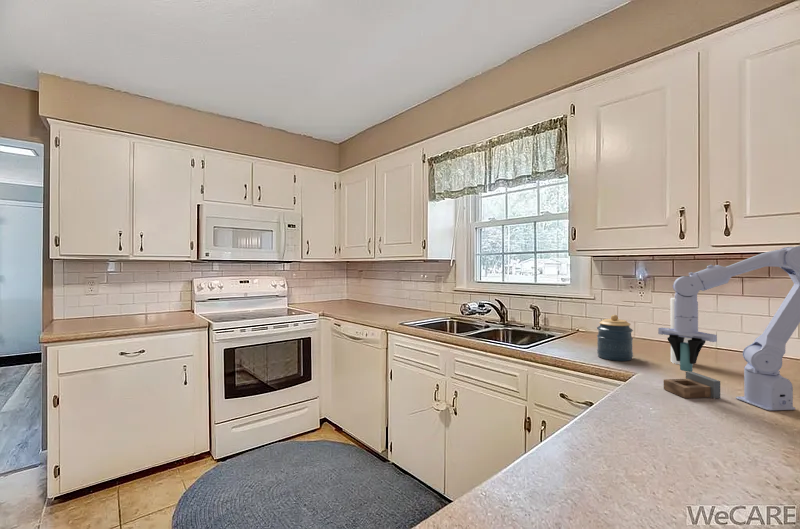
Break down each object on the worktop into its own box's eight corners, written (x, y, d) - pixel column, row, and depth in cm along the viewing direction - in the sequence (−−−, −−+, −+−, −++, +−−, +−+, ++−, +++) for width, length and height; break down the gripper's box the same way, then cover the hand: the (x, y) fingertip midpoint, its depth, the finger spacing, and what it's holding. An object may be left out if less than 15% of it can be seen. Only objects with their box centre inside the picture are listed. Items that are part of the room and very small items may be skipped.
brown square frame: (710, 397, 112) (710, 386, 112) (684, 398, 112) (684, 387, 112) (688, 388, 120) (688, 378, 120) (663, 389, 120) (663, 379, 120)
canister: (640, 359, 157) (640, 315, 157) (618, 363, 151) (618, 317, 151) (611, 352, 168) (610, 311, 168) (589, 355, 163) (589, 313, 163)
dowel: (694, 370, 116) (694, 343, 115) (689, 372, 114) (689, 344, 114) (682, 368, 118) (682, 341, 118) (678, 369, 116) (678, 343, 116)
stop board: (720, 398, 111) (720, 381, 111) (713, 398, 111) (713, 381, 111) (691, 387, 121) (691, 371, 121) (685, 387, 121) (685, 371, 121)
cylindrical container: (683, 366, 146) (683, 299, 146) (666, 361, 153) (665, 298, 153) (698, 364, 148) (697, 299, 148) (680, 360, 155) (679, 297, 155)
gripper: (721, 318, 112) (721, 365, 112) (666, 312, 124) (666, 355, 124) (710, 320, 108) (710, 369, 108) (654, 314, 121) (654, 358, 121)
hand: (686, 362), depth 116 cm, fingers closed on dowel, 3 cm apart
